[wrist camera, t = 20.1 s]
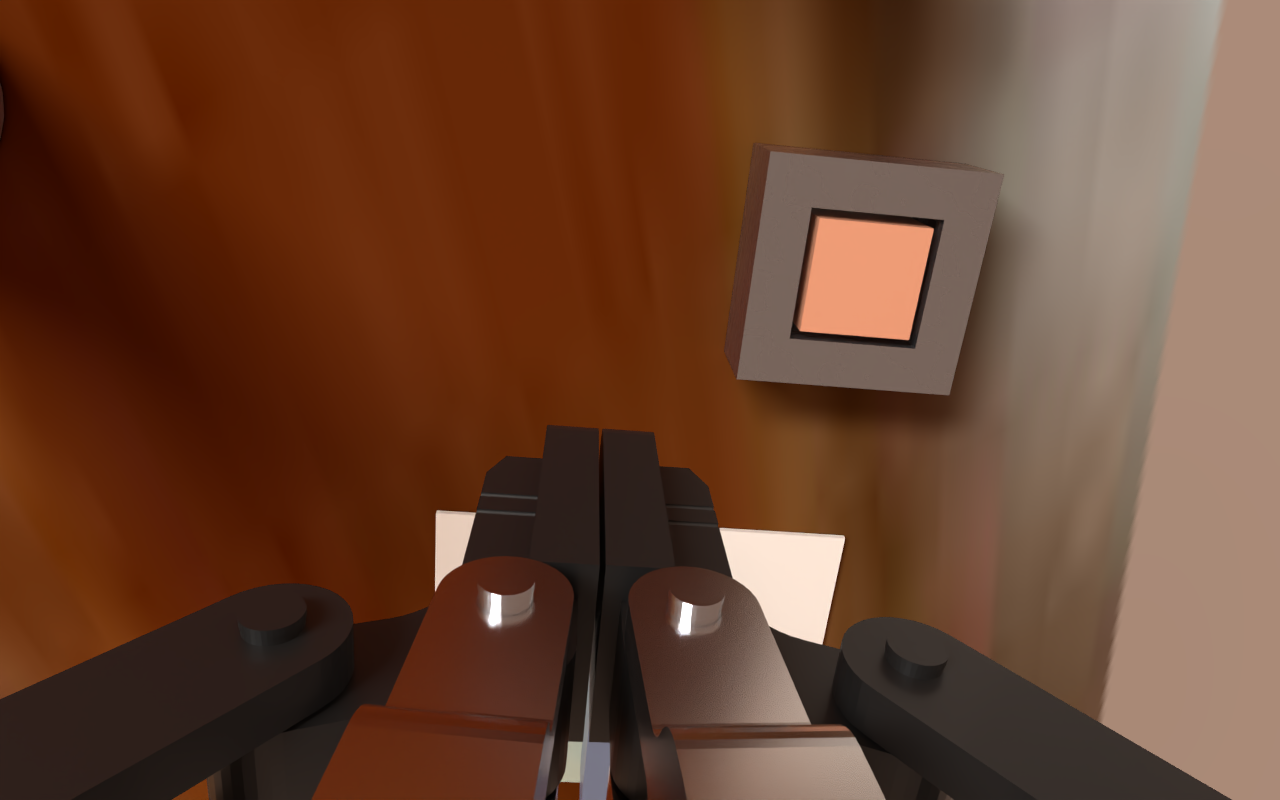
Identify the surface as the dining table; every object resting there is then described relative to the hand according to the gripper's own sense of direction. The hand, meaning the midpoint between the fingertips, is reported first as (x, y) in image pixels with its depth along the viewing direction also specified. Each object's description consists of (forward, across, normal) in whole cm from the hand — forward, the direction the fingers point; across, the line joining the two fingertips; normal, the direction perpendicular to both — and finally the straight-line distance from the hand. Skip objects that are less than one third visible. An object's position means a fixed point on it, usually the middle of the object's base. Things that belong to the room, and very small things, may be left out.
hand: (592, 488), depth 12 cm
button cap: (+28, -12, +2) cm, 30 cm away
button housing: (+29, -12, +2) cm, 31 cm away
